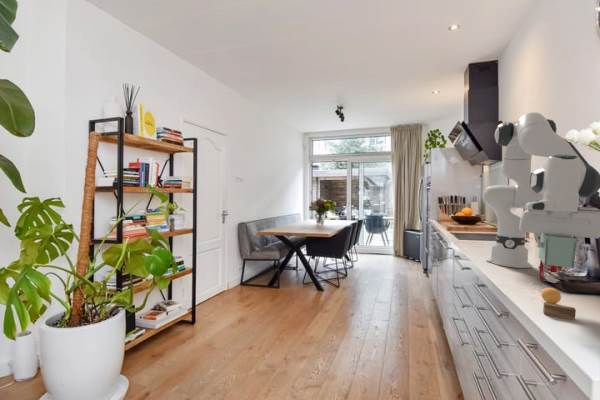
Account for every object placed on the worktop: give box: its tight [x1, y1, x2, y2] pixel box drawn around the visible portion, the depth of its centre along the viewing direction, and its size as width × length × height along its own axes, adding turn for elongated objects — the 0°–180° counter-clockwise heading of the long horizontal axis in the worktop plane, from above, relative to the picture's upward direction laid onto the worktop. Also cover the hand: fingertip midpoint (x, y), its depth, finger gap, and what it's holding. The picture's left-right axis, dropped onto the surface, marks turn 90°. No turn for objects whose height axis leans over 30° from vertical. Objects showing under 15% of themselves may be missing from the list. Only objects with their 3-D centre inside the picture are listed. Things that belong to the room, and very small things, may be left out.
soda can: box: [538, 260, 563, 282], centre depth 128 cm, size 7×7×12 cm
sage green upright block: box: [538, 233, 577, 269], centre depth 101 cm, size 11×7×9 cm, turn 150°
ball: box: [541, 287, 562, 304], centre depth 103 cm, size 5×5×5 cm
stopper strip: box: [542, 302, 577, 321], centre depth 93 cm, size 2×7×3 cm, turn 60°
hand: (556, 249), depth 101 cm, fingers closed on sage green upright block, 7 cm apart
